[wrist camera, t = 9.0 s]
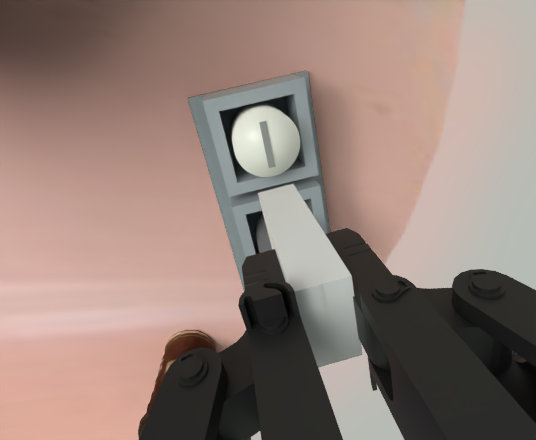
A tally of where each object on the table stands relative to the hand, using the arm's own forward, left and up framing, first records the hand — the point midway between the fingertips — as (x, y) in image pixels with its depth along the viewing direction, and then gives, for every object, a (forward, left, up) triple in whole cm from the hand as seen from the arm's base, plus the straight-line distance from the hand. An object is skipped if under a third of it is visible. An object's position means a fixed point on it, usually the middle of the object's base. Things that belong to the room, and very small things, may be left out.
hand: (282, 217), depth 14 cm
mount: (+9, +1, -21) cm, 23 cm away
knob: (0, +1, -19) cm, 19 cm away
